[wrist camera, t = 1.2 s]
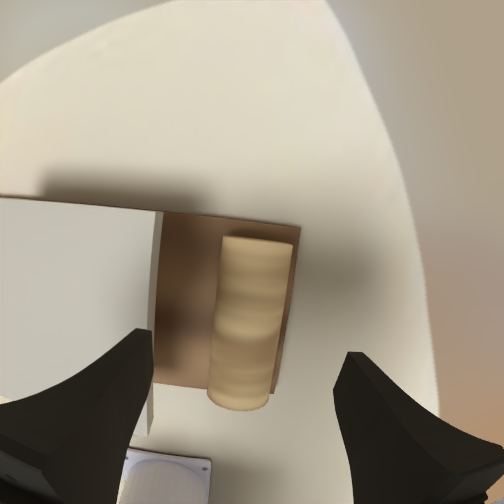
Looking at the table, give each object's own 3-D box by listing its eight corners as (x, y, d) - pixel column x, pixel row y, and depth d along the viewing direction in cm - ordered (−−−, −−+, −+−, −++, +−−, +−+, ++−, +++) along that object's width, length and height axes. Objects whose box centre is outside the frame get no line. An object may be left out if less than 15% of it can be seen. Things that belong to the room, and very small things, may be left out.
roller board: (271, 387, 23) (293, 455, 15) (-63, 314, 19) (-112, 337, 11) (297, 227, 22) (339, 235, 14) (-65, 193, 18) (-122, 193, 10)
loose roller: (262, 380, 22) (274, 411, 18) (206, 378, 21) (208, 409, 17) (282, 241, 21) (301, 248, 17) (220, 234, 20) (225, 239, 16)
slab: (153, 417, 17) (147, 437, 15) (-5, 374, 15) (-19, 386, 13) (163, 212, 15) (155, 211, 13) (-14, 197, 14) (-34, 196, 12)
